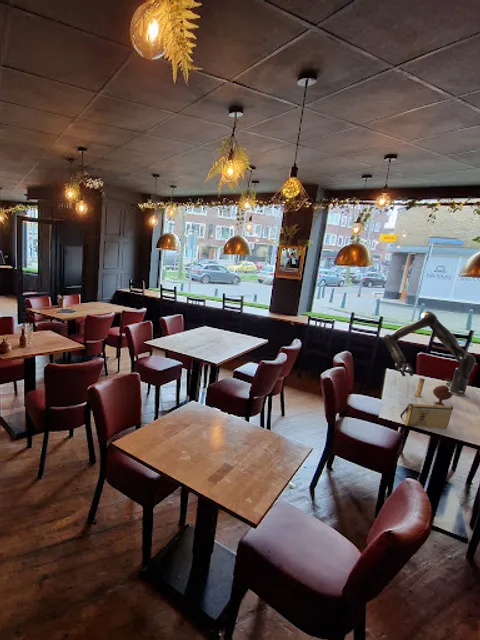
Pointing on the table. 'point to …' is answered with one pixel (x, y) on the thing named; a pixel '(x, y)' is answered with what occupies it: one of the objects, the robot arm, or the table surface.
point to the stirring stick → (420, 387)
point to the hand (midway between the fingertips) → (408, 376)
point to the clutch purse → (427, 415)
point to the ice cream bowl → (442, 394)
